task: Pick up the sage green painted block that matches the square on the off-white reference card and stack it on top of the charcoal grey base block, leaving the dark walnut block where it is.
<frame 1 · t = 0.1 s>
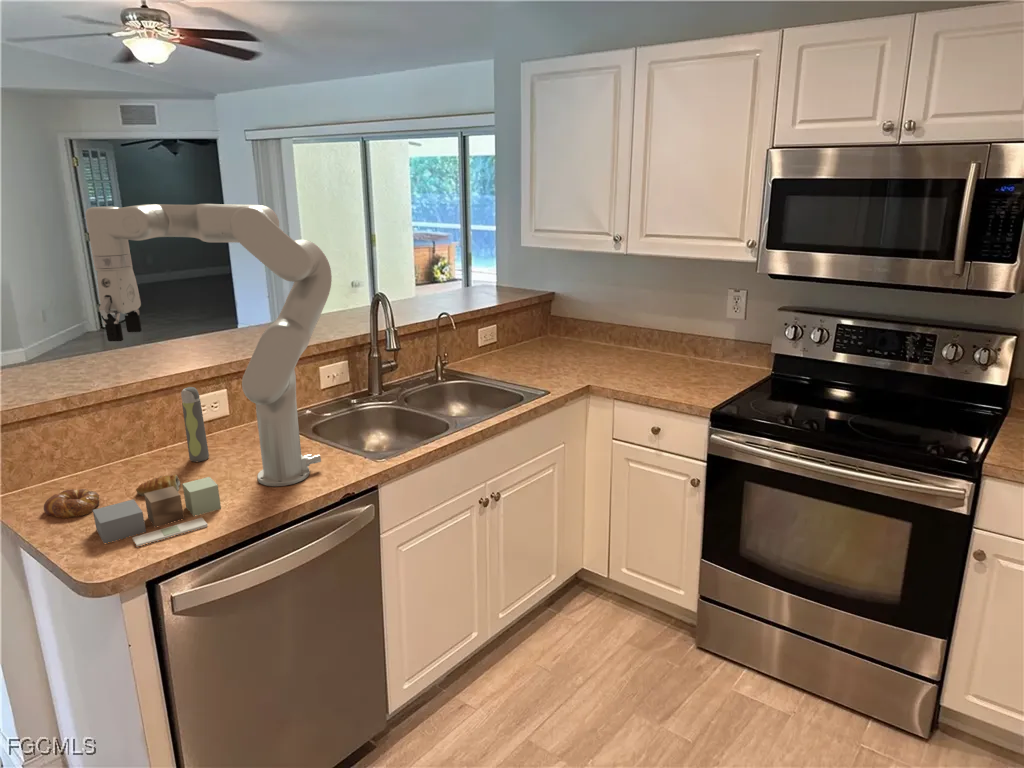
hand: (125, 336, 165), 37 cm above the worktop, tool pointing down, fingers open, 9 cm apart
base block: (121, 532, 152), on the worktop
sage block: (203, 508, 162), on the worktop
pretzel: (74, 510, 162), on the worktop
reference card: (170, 533, 150), on the worktop
pastry: (162, 492, 171), on the worktop
walnut block: (166, 518, 157), on the worktop
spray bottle: (199, 459, 190), on the worktop
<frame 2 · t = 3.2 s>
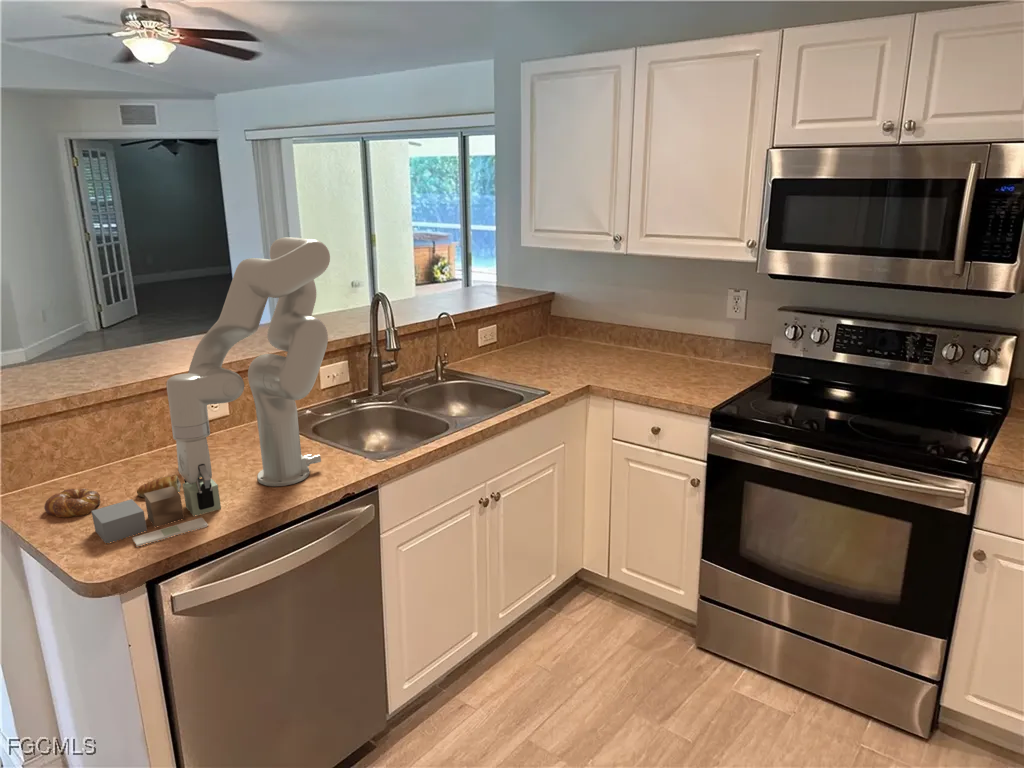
hand: (200, 500, 161), 2 cm above the worktop, tool pointing down, fingers open, 9 cm apart
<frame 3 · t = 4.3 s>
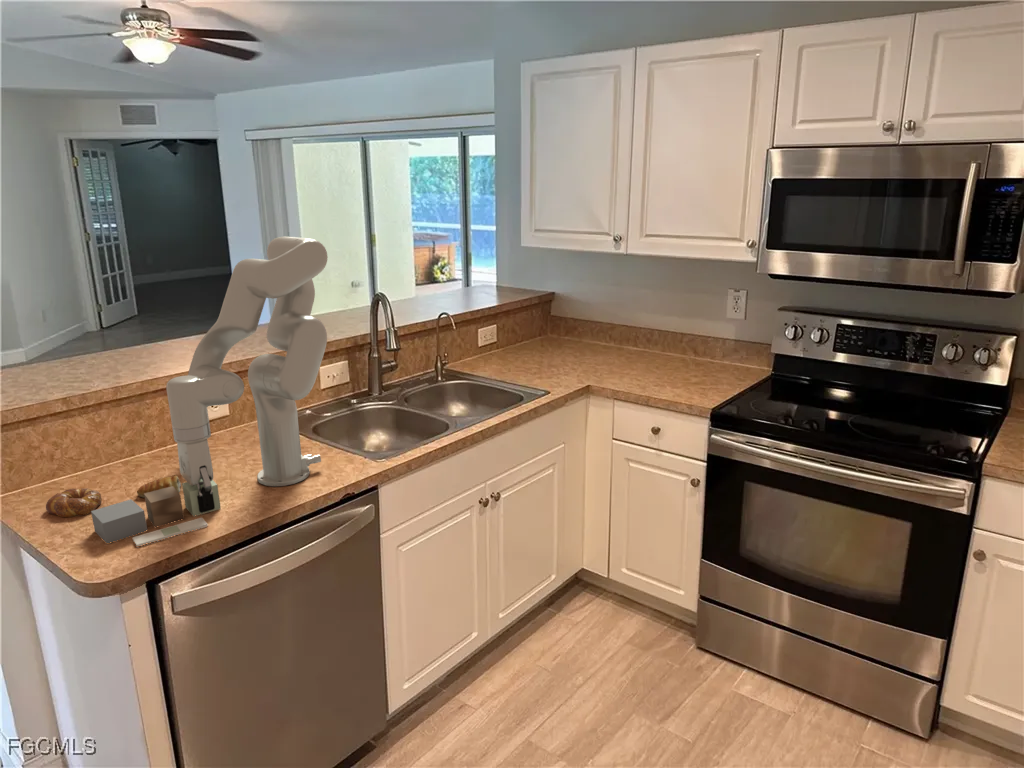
hand: (202, 504, 162), 1 cm above the worktop, tool pointing down, fingers closed on sage block, 6 cm apart
sage block: (203, 508, 162), on the worktop, touching gripper
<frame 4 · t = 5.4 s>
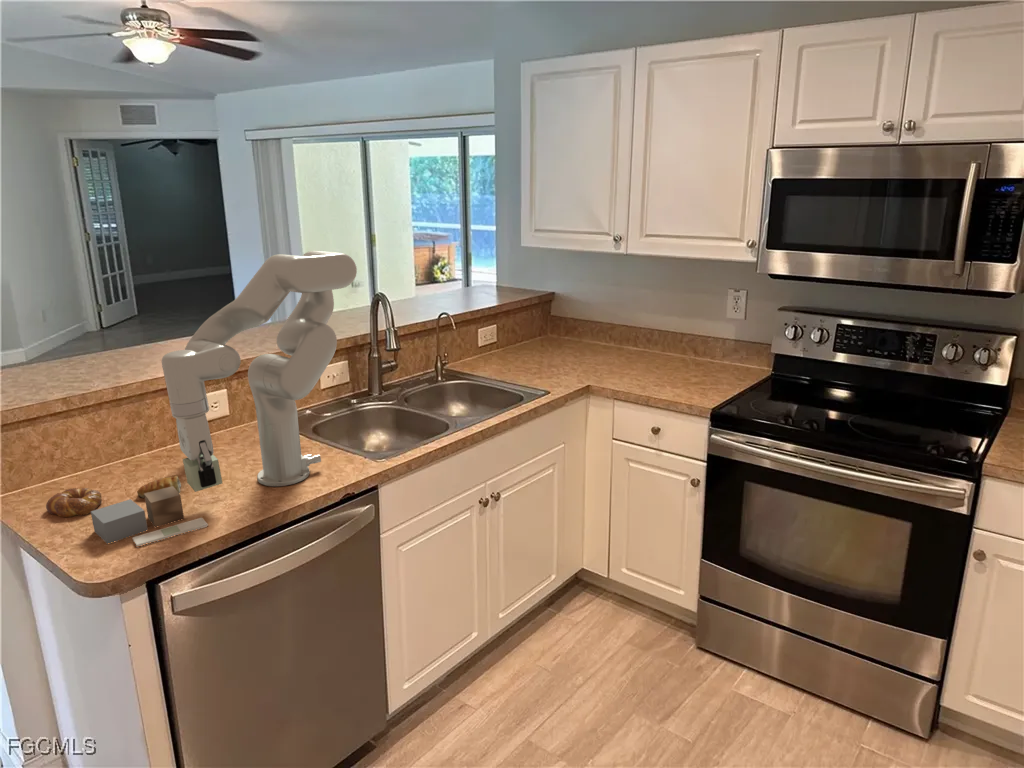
hand: (204, 479, 161), 7 cm above the worktop, tool pointing down, fingers closed on sage block, 6 cm apart
sage block: (204, 483, 161), point 6 cm above the worktop, touching gripper
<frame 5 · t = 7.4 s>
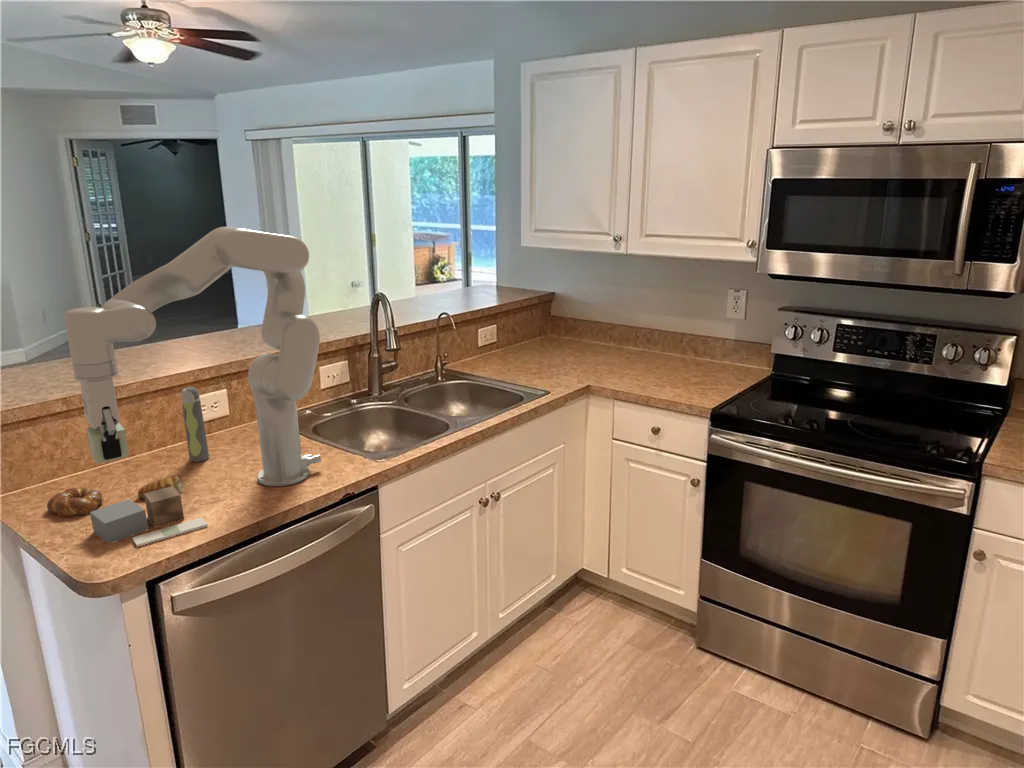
hand: (109, 452, 147), 18 cm above the worktop, tool pointing down, fingers closed on sage block, 6 cm apart
sage block: (110, 456, 147), point 17 cm above the worktop, touching gripper
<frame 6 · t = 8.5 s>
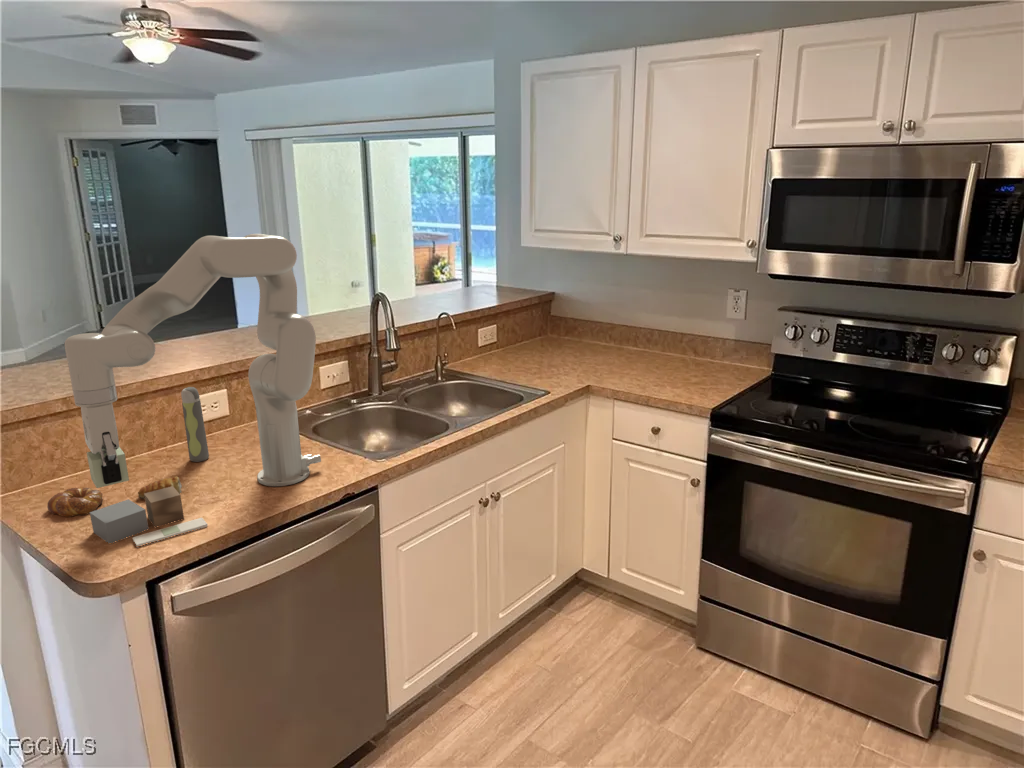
hand: (109, 476, 148), 13 cm above the worktop, tool pointing down, fingers closed on sage block, 6 cm apart
sage block: (110, 479, 148), point 12 cm above the worktop, touching gripper
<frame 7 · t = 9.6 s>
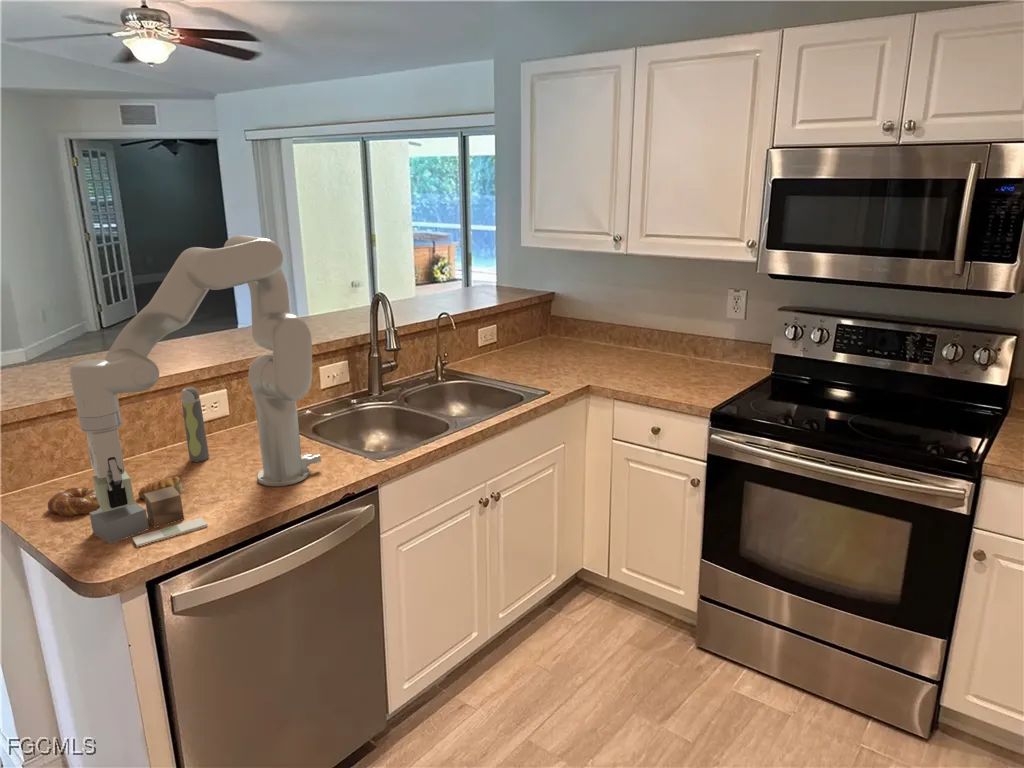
hand: (115, 499, 150), 7 cm above the worktop, tool pointing down, fingers closed on sage block, 6 cm apart
sage block: (116, 503, 150), point 7 cm above the worktop, touching gripper
when the fingers open (7 cm above the worktop, at t = 10.3 s): sage block drops 2 cm, resting on base block.
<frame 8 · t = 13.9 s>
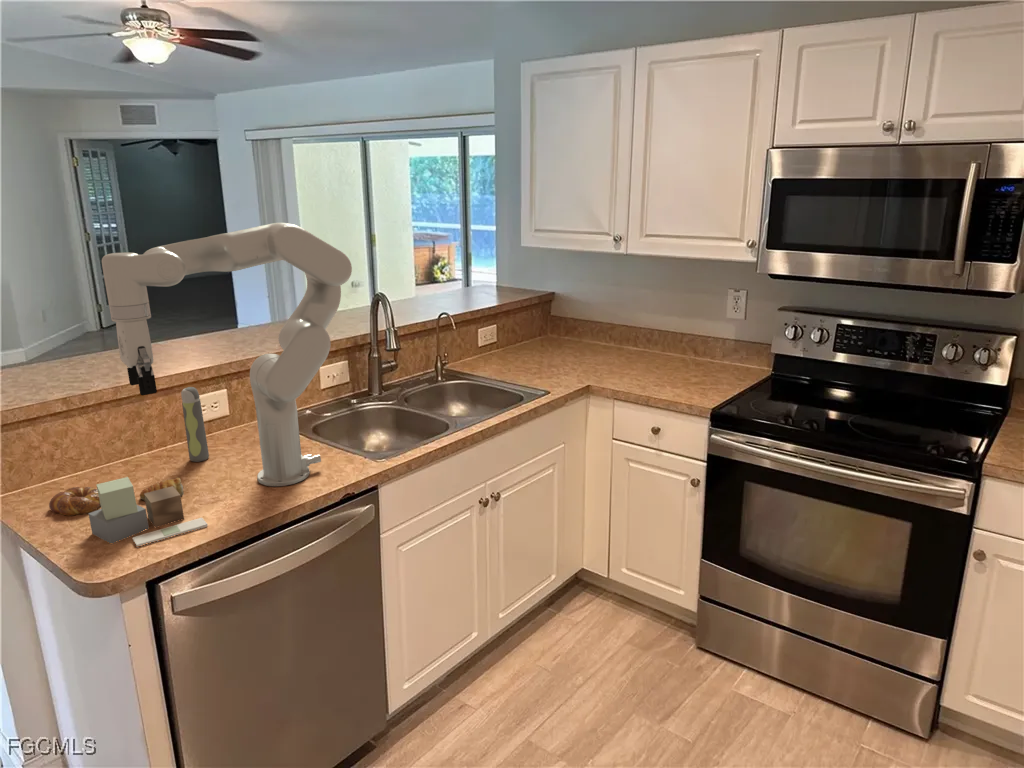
hand: (143, 388, 155), 28 cm above the worktop, tool pointing down, fingers open, 9 cm apart
base block: (121, 532, 152), on the worktop, touching sage block
sage block: (119, 511, 150), point 5 cm above the worktop, touching base block
at the end: sage block 0.5 cm off-centre on the base block, point 5.0 cm above the base block's base; sage block tilted 0°; walnut block moved 0.1 cm from its start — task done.
